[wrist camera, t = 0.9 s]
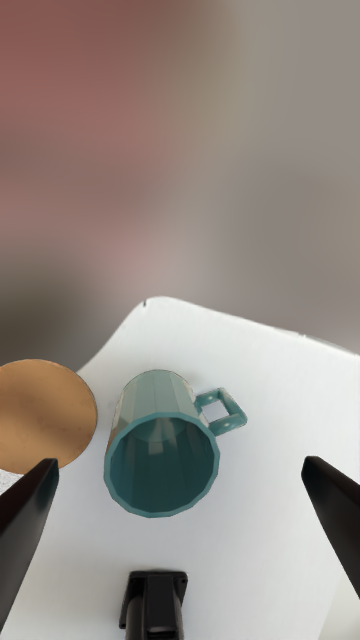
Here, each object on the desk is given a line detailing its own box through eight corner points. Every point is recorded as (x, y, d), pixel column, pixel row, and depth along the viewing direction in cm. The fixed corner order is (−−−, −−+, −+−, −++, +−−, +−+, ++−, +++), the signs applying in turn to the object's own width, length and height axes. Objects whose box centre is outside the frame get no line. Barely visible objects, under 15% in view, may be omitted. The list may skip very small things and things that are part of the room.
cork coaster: (86, 475, 23) (85, 479, 22) (-39, 465, 21) (-44, 470, 21) (106, 369, 22) (105, 371, 21) (-24, 349, 20) (-28, 351, 20)
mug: (133, 453, 23) (127, 535, 16) (106, 385, 22) (85, 438, 14) (229, 415, 24) (269, 474, 17) (209, 348, 23) (241, 379, 15)
